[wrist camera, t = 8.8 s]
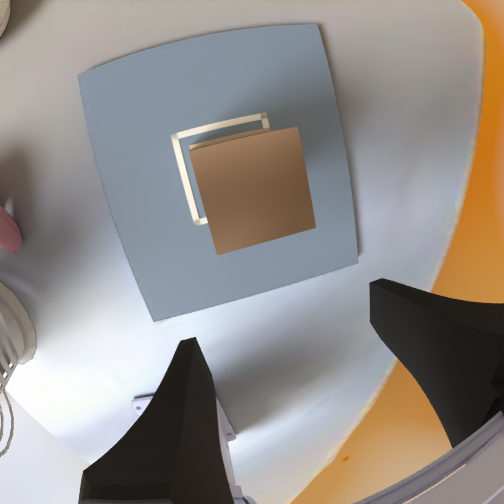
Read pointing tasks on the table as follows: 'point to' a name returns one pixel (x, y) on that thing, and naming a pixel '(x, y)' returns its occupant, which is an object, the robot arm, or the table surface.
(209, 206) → the walnut block
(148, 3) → the table surface
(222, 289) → the board
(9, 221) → the video game controller
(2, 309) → the french press
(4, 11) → the flower vase
